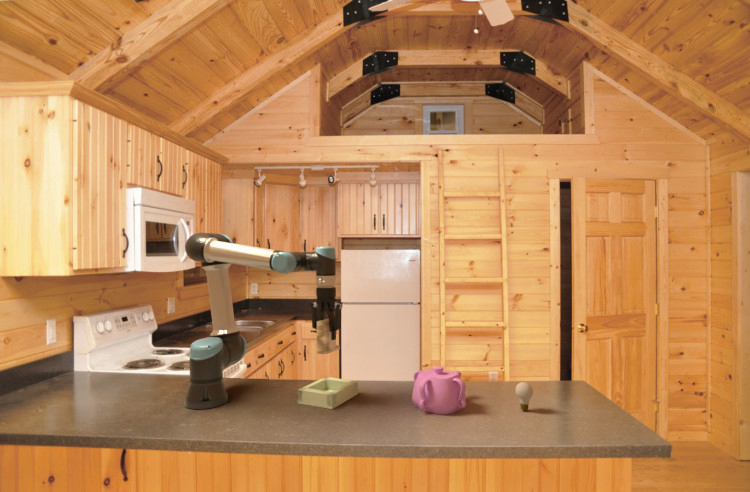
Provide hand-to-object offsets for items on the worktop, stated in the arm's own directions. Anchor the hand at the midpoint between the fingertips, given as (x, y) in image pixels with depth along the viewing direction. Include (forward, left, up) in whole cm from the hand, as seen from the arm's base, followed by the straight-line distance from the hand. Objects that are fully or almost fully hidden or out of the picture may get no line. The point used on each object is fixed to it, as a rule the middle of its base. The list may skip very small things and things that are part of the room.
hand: (326, 347), depth 170 cm
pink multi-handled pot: (+41, +13, -20) cm, 48 cm away
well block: (0, +1, -20) cm, 20 cm away
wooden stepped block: (0, +1, -2) cm, 2 cm away
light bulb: (+69, +20, -20) cm, 75 cm away
